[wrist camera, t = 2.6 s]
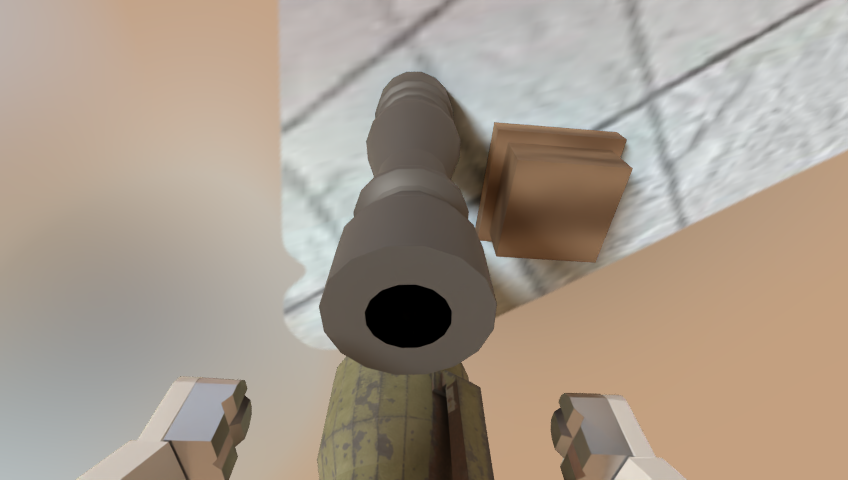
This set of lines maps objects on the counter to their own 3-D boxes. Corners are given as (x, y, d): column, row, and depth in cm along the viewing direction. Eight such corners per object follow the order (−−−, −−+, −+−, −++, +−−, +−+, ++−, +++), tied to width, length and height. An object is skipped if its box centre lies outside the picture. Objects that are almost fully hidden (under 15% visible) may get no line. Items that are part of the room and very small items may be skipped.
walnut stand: (494, 122, 34) (507, 146, 29) (616, 132, 35) (650, 157, 30) (475, 229, 40) (483, 264, 35) (579, 236, 41) (602, 271, 36)
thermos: (477, 217, 39) (648, 895, 10) (413, 292, 45) (402, 881, 15) (402, 171, 37) (338, 923, 7) (343, 257, 42) (168, 894, 13)
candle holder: (402, 55, 31) (370, 198, 10) (465, 99, 33) (546, 296, 12) (365, 120, 34) (279, 338, 13) (424, 157, 36) (434, 400, 15)
